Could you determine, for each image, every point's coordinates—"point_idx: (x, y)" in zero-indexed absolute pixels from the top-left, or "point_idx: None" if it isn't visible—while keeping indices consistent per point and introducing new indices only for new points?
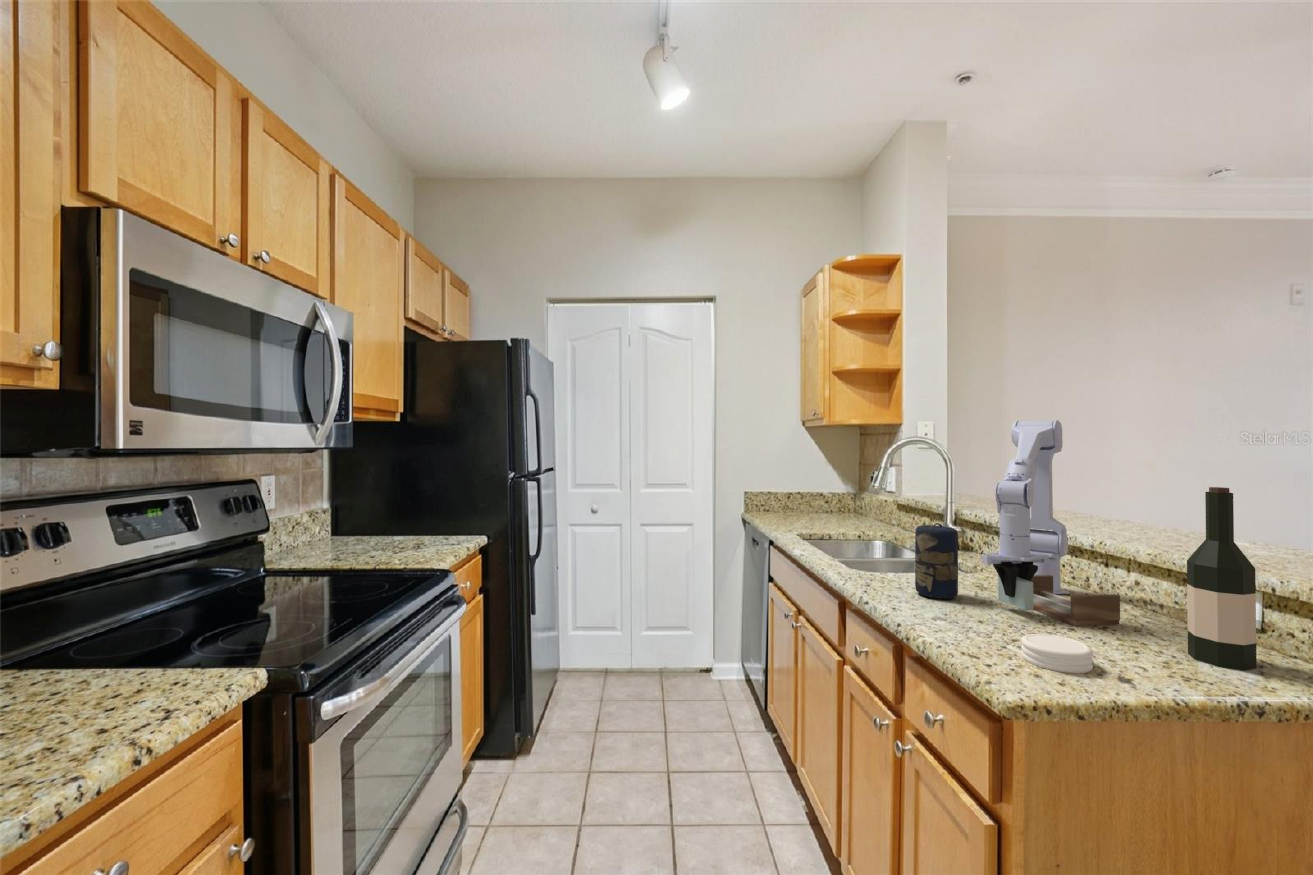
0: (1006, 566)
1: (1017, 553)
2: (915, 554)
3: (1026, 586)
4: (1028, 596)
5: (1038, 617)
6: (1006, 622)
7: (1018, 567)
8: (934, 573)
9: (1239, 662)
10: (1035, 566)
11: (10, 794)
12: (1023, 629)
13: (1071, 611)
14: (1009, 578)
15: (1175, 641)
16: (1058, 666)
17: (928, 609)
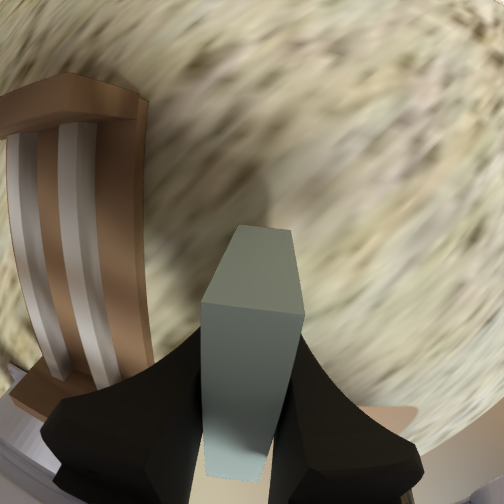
0: (375, 501)
1: None
2: None
3: (281, 290)
4: (265, 253)
5: (202, 228)
6: (405, 201)
7: (180, 490)
8: (407, 492)
9: None
10: (67, 438)
11: None
12: (411, 110)
13: (117, 111)
14: (354, 405)
15: (32, 4)
16: None
17: (481, 362)
